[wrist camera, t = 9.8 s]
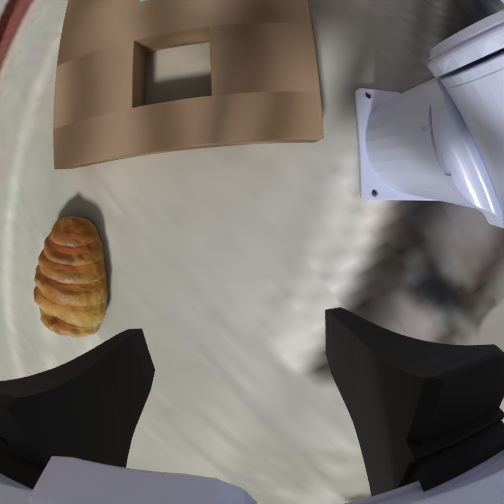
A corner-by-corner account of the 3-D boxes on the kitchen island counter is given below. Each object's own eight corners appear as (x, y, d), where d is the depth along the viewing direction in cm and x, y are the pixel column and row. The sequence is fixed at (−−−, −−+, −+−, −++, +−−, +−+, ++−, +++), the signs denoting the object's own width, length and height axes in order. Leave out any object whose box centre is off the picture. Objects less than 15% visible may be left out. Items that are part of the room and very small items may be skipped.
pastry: (53, 206, 20) (24, 213, 17) (121, 224, 21) (97, 235, 17) (48, 307, 23) (26, 325, 19) (110, 331, 23) (91, 354, 19)
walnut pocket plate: (288, -61, 14) (290, -77, 11) (315, 142, 19) (323, 138, 16) (90, -27, 14) (79, -39, 12) (72, 168, 19) (54, 169, 17)
